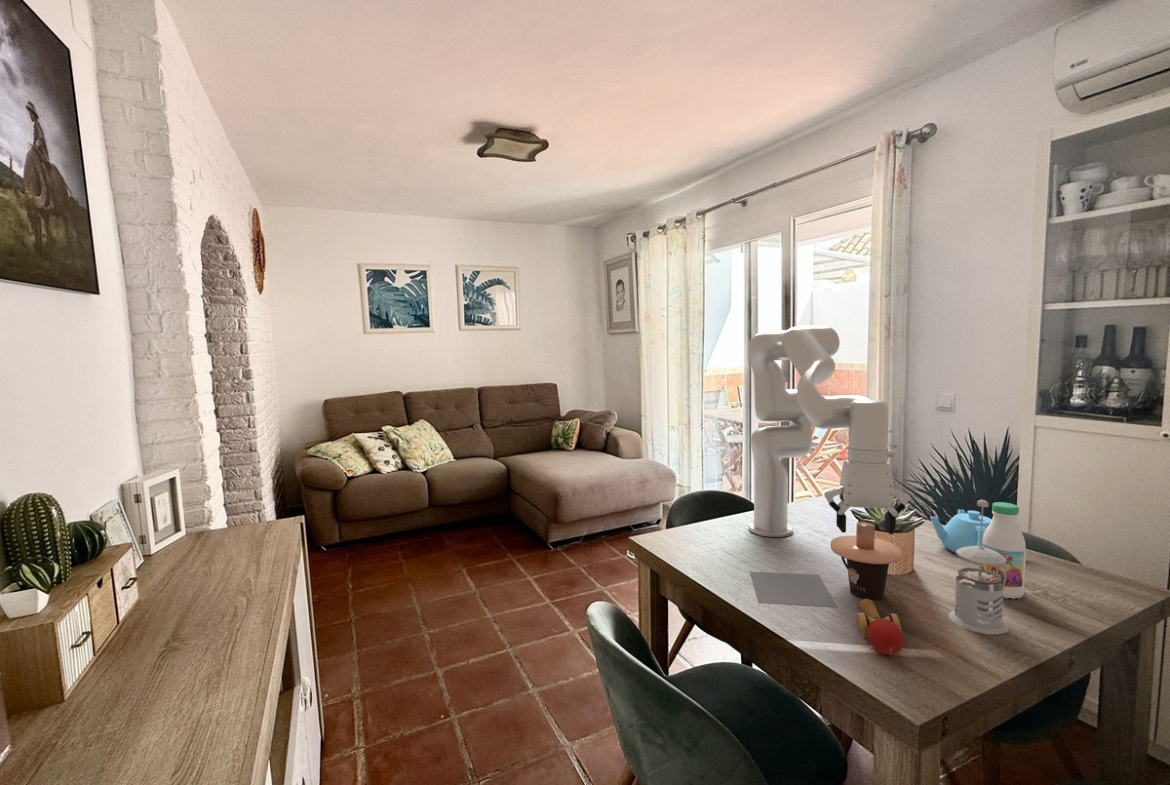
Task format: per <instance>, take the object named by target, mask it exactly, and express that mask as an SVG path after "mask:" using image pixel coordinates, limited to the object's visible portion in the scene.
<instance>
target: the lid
mask: <svg viewBox="0 0 1170 785" xmlns="http://www.w3.org/2000/svg"><path fill="white" fill-rule="evenodd" d="M855 534H856V535H842V536H841V535H840V536H838V537H834V538H832V539H831V540H830V549H831V551H832V552H833V553H834V554H836V555H837V556H839V557H841V556H842V557H844V559H846V560H847V559H850V560H853V561H857V562H863V563H870V564H889V565H890V564H894V563H897V562H899V561H901V559H902V555H903V554H902V551H903V550H902V549H901V548H900V547H899V546H898V545H896V544H894V543H892V542H889V541H887V540H883V539H880V538H876V537H875V535H876V525H874V524H873V523H870V522H864V521H863V522H862V521H861V522H856V533H855Z"/></svg>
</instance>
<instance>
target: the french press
mask: <svg viewBox="0 0 1170 785" xmlns="http://www.w3.org/2000/svg"><path fill="white" fill-rule="evenodd" d="M976 506H977V507H981V541H980V546H968V547H962V548H960V549H958V550H956V553H957V554H956V555H957V556H958V557H959V558H960V559H962V560H964V561H966V562H969V563H973V564H977V565H979V568H977V567H969V566H968V567H962V568H960V569H958V570H957V573H958V575H956V576H955V593H954V594H955V595H954V609H953V610H951V611H950V612H948V618H949V619H950V620H951V621H952V622H953V623H955V625H957V626H959V627H961V628H963V629H966V630H968V629H969V631H970V632H971V631H972V632H975V633H978V634H979V633H980V634H983V633H984V635H993V634H997V635H1000V634H999V633H1004V632H1005V631H1006V630H1007V629H1008V630H1009V627H1008V628H1007V626H1008V624H1007V623H1005V621H1003V617H1004V616H1003V614H1004V613H1003V612H1004V610H1003V607H1004V602H1003V601H1004V598H1003V597H1004V596H1003V593H1004V585H1005V582H1006V568H1005V565H1004V564H1005V563H1006V558H1005V557H1003V556H1002V555H1001V554H999V553H998V552H996V551H994V550H992V549H989V548H985V547H982V525H983V516H984V508H989V502H988V501H987V500H984V499H980V500H978V501H977V502H976ZM981 565H988V566H994V567H996V574H994V573H992V572H991V571H990V572H989V571H987V570H983V569H982V570H981ZM999 565H1003V566H1004V569H1005V578H1004V583H1003V585H1002V584H1001V582H1002V578H1001V577H1000V576H999V575H998V568H997V566H999ZM963 580H966V581H963ZM960 581H963V582H960ZM967 581H970V582H967ZM971 582H973V583H974V584H973V583H971ZM990 585H993V586H992V587H991V588H990ZM993 587H994V591H991V589H992V588H993ZM990 602H992V604H990ZM989 609H992V610H989ZM1004 634H1005V633H1004Z"/></svg>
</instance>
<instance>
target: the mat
mask: <svg viewBox="0 0 1170 785" xmlns="http://www.w3.org/2000/svg"><path fill="white" fill-rule="evenodd" d="M749 574H750V578H751V582H752V584H753V588H754V591H755V595H756V599H757V601H758V603H759V604H769V605H771V604H773V605H774V604H775V605H788V606H789V605H790V606H805V607H820V608H821V607H824V608H838V607H839V606H838V605H837V603H836V602H835V600H834V598H833V596H832V595H831V593H830V592H829V590H828V588H827V586H826V584H825V583H824V581H823V580H822V578H821V576H820V575H819V574H812V573H811V574H809V573H808V574H806V573H789V572H769V571H768V572H767V571H751V570H750V571H749Z"/></svg>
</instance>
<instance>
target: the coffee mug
mask: <svg viewBox="0 0 1170 785" xmlns="http://www.w3.org/2000/svg"><path fill="white" fill-rule="evenodd" d="M840 558H841V560H842V563H843V565H844V566H845V568H846V569H847V573H848V574H847V576H848V584H849V592H850V594H852V596H854V597H856V598H859V599H862V600H863V599H869V600H871V601H880V600H882V599H883V598H884V596H885V590H886V584H887V580H888V579H887V578H888V571H889V566H890V563H889V564H870V563H863V562H857V561H853V560H850V559H847V558H844V557H842V556H840Z"/></svg>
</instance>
